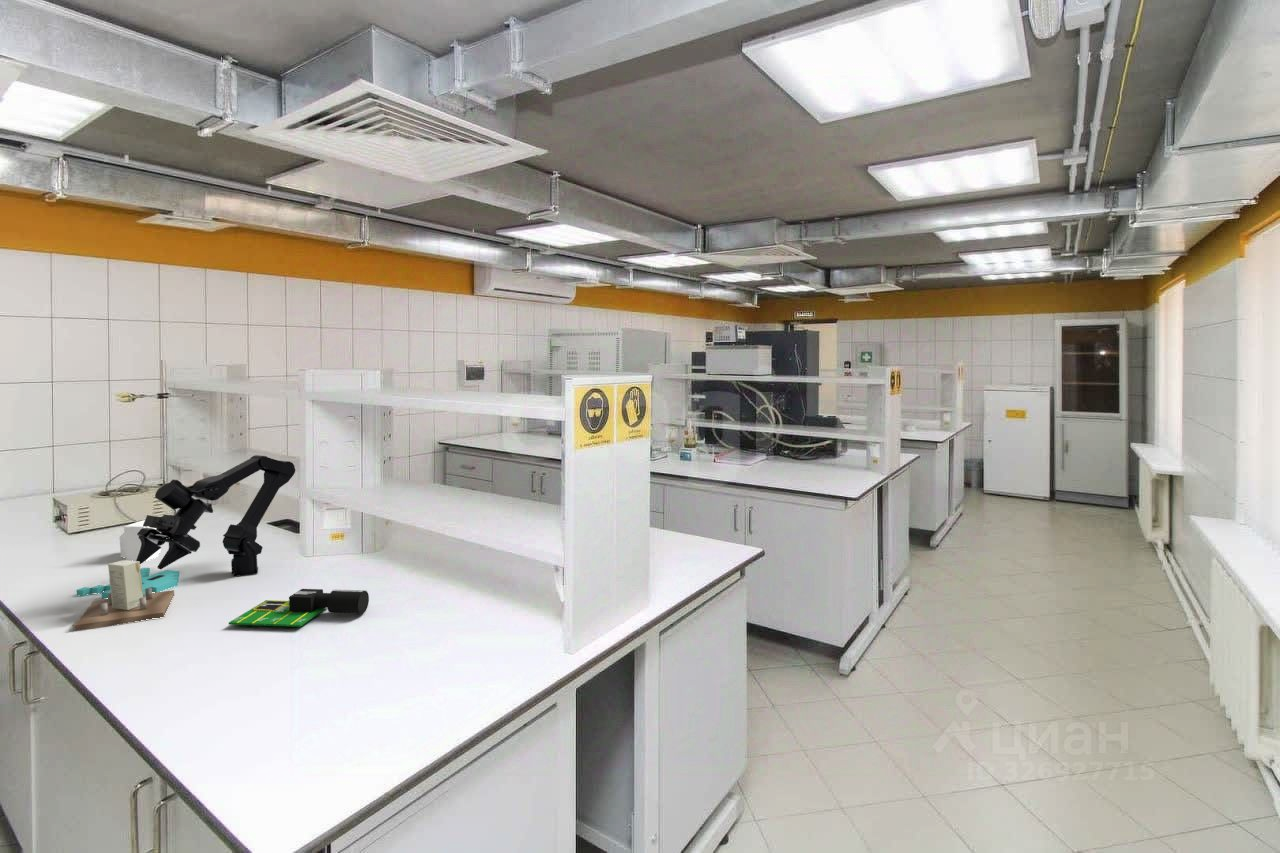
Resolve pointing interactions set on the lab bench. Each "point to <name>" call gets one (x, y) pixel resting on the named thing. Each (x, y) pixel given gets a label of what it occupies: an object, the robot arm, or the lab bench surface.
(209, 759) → the lab bench surface
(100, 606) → the peg board
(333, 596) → the circuit board with cylinder
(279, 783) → the lab bench surface
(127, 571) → the skincare box
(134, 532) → the white boxy block
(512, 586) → the lab bench surface
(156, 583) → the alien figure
